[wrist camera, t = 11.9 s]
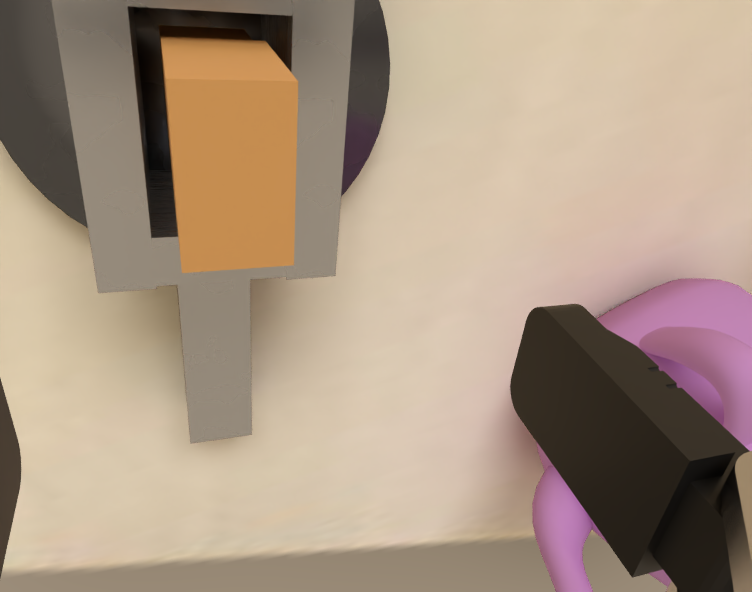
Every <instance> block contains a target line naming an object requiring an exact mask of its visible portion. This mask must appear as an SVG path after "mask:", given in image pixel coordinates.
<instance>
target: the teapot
mask: <svg viewBox="0 0 752 592" xmlns="http://www.w3.org/2000/svg"><path fill="white" fill-rule="evenodd" d="M597 320H598V321H599V322H600V323H601V324H602V325H603V326H604V327H605V328H606V329H607V330H610V331H611V332H613V333H615V334H617V335H618V336H620V337H622V338H624V339H625V340H627V341H629V342H631V343H632V344H634V345H636V346H637V347H639V348H640V349H641V350H642V351H643V352H644V353H645V354H646V355H647V356H648V357H649V358H650V359H651V360H653V361H654V362H655V363H656V364H657V365H658V366H659V370H660V371H664V372H665V373H666V374H668V375H669V376H670V377H671V378H672V379H673V380H674V381H675V382H676V383H677V387H678V388H683V389H684V390H685V391H686V392H687V393H688V394H689V395H690V396H691V397H692V398H693V399H694V400H695V401H697V402H698V403H699V404H700V405H701V406H702V407H703V408H704V409H705V410H706V411H707V412H708V413H709V414H710V415H712V416H713V417H714V418H715V419H716V420H717V421H718V422H719V423H720V424H721V425H722V426H723V427H724V428H726V429H727V430H728V431H729V432H730V433H731V434H732V435H733V436H734V437H735V438H736V439H737V440H738V441H739V442H741V443H742V444H743V445H744V446H745V447H746V448H747V449H748V450H749V451H752V295H751V294H749V293H748V292H746V291H745V290H744V289H742V288H741V287H739V286H738V285H735V284H732V283H729V282H726V281H722V280H715V279H678V280H674V281H670V282H667V283H665V284H662V285H660V286H658V287H655V288H653V289H651V290H649V291H647V292H645V293H643V294H641V295H639V296H637V297H635V298H632V299H631V300H629V301H627V302H625V303H623V304H621V305H619V306H618V307H616V308H614V309H612V310H610V311H609V312H607V313H605V314H604V315H602V316H600V317H599V318H597ZM536 443H537V442H536ZM537 448H538V453H539V456H540V459H541V462H542V464H543V467H544V470H545V472H544V474H543V476H542V477H541V479H540V481H539V483H538V485H537V487H536V491H535V495H534V499H533V527H534V531H535V536H536V540H537V543H538V546H539V549H540V552H541V555H542V557H543V559H544V562H545V564H546V567H547V569H548V572H549V574H550V577H551V580H552V582H553V585H554V587H555V591H556V592H593V590H592V588H591V585H590V583H589V580H588V578H587V575H586V572H585V569H584V564H583V556H582V551H583V546H584V543H585V541H586V539H587V537H588V535H589V533H590V531H591V529H592V530H593V531H594V532H595V533H597V534H598V535H599V536H600V537H601V538H602V539H604V540H605V541H606V539H605V538H604V537H603V535H602V534H601V532H600V531H599V530H598V528H597V527H596V525H595V524H594V522H593V521H592V520H591V518H590V517H589V515H588V514H587V513H586V511H585V510H584V508H583V507H582V505H581V504H580V503H579V501H578V500H577V498H576V497H575V495H574V494H573V493H572V491H571V490H570V488H569V487H568V486H567V484H566V483H565V481H564V480H563V478H562V477H561V476H560V474H559V473H558V471H557V470H556V469H555V467H554V466H553V464H552V463H551V461H550V460H549V459H548V457H547V456H546V454H545V453H544V451H543V450H542V449H541V447H540V446H539V444H538V443H537ZM606 542H607V541H606ZM607 543H608V542H607ZM648 574H650V575H651V576H653V577H654V578H656V579H657V580H659V581H660V582H662V583H663V584H664V585H666V586H667V587H668V585H669V583H670V581H671V579H670V578H669V577H668V575H667V574H666V573H665V571H664V570H659V571H655V572H652V573H648Z"/></svg>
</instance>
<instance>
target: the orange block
mask: <svg viewBox="0 0 752 592" xmlns="http://www.w3.org/2000/svg"><path fill="white" fill-rule="evenodd" d="M159 37H160V48H161V60H162V72H163V83H164V95H165V107H166V118H167V130H168V141H169V150H170V160H171V169H172V179H173V190H174V201H175V211H176V220H177V230H178V240H179V249H180V259H181V269H182V273H191V272H206V271H220V270H234V269H248V268H263V267H277V266H291V265H294V241H295V200H296V158H297V117H298V80H297V79H296V78H295V77H294V75H293V74H292V73H291V72H290V71H289V69H288V68H287V67H286V66H285V64H284V63H283V62H282V61H281V59H280V58H279V57H278V56H277V55H276V53H275V52H274V51H273V50H272V48H271V47H270V46H269V45H268V43H267V42H266V41H262V40H252V39H251V38H250V36H249V35H248V34H247V32H246V31H245V30H244V29H237V28H214V27H191V26H169V25H159Z"/></svg>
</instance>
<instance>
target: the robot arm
mask: <svg viewBox="0 0 752 592" xmlns="http://www.w3.org/2000/svg"><path fill="white" fill-rule="evenodd" d="M510 389H511V398H512V402H513V405H514V408H515V410H516V413H517V414H518V416H519V417H520V419H521V420H522V422H523V423H524V425H525V426H526V427H527V429H528V430H529V432H530V433H531V434H532V436H533V437H534V439H535V440H536V442H537V443H538V444H539V446H540V447H541V449H542V450H543V451H544V453H545V454H546V456H547V457H548V459H549V460H550V461H551V463H552V464H553V466H554V467H555V469H556V470H557V471H558V473H559V474H560V476H561V477H562V478H563V480H564V481H565V483H566V484H567V486H568V487H569V488H570V490H571V491H572V493H573V494H574V495H575V497H576V498H577V500H578V501H579V503H580V504H581V505H582V507H583V508H584V510H585V511H586V513H587V514H588V515H589V517H590V518H591V520H592V521H593V522H594V524H595V525H596V527H597V528H598V530H599V531H600V532H601V534H602V535H603V537H604V538H605V539H606V541H607V542H608V544H609V545H610V546H611V548H612V549H613V551H614V552H615V554H616V555H617V556H618V558H619V559H620V561H621V562H622V564H623V565H624V566H625V568H626V569H627V571H628V572H629V574H630V575H631V576H632V577H636V576H640V575H643V574H647V573H652V572H655V571H659V570H664V571H665V573H666V574H667V575H668V577H669V578H670V579H671V581H670V583H669V585H668V587H667V589H666V592H752V451H749V450H748V449H747V448H746V447H745V446H744V445H743V444H742V443H741V442H739V441H738V440H737V439H736V438H735V437H734V436H733V435H732V434H731V433H730V432H729V431H728V430H727V429H726V428H724V427H723V426H722V425H721V424H720V423H719V422H718V421H717V420H716V419H715V418H714V417H713V416H712V415H710V414H709V413H708V412H707V411H706V410H705V409H704V408H703V407H702V406H701V405H700V404H699V403H698V402H697V401H695V400H694V399H693V398H692V397H691V396H690V395H689V394H688V393H687V392H686V391H685V390H684V389H683V388H678V387H677V383H676V382H675V381H674V380H673V379H672V378H671V377H670V376H669V375H668V374H666V373H665V372H664V371H660V370H659V366H658V365H657V364H656V363H655V362H654V361H653V360H651V359H650V358H649V357H648V356H647V355H646V354H645V353H644V352H643V351H642V350H641V349H640V348H639V347H637V346H636V345H634V344H632V343H631V342H629V341H627V340H625V339H624V338H622V337H620V336H618V335H617V334H615V333H613V332H611V331H610V330H607V329H606V328H605V327H604V326H603V325H602V324H601V323H600V322H599V321H598V320H597V319H596V318H595V317H594V316H592V315H591V314H590V313H589V312H588V311H587V310H586V309H585V308H584V307H583V306H581V305H579V304H568V305H558V306H547V307H537V308H534V309H533V310H532V311H531V312H530V313H529V315H528V317H527V320H526V324H525V328H524V331H523V335H522V339H521V343H520V347H519V350H518V354H517V358H516V362H515V366H514V370H513V373H512V377H511V385H510ZM20 482H21V456H20V448H19V443H18V439H17V436H16V432H15V428H14V425H13V421H12V418H11V414H10V411H9V407H8V404H7V400H6V397H5V393H4V390H3V386H2V382H1V379H0V577H1V572H2V568H3V563H4V559H5V554H6V549H7V545H8V540H9V536H10V531H11V526H12V522H13V517H14V512H15V508H16V503H17V499H18V494H19V489H20Z"/></svg>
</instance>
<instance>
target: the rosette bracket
mask: <svg viewBox="0 0 752 592" xmlns="http://www.w3.org/2000/svg"><path fill="white" fill-rule="evenodd" d="M159 25H169V26H191V27H214V28H237V29H244V30H245V31H246V32H247V34H248V35H249V36H250V38H251V39H252V40H262V41H266V42H267V43H268V45H269V46H270V47H271V48H272V50H273V51H274V52H275V53H276V55H277V56H278V57H279V58H280V59H281V61H282V62H283V63H284V64H285V66H286V67H287V68H288V69H289V71H290V72H291V73H292V74H293V75H294V77H295V78H296V79H297V80H298V117H297V158H296V200H295V241H294V265H291V266H277V267H263V268H248V269H234V270H220V271H206V272H191V273H182V269H181V259H180V249H179V240H178V230H177V220H176V211H175V201H174V190H173V179H172V169H171V160H170V150H169V141H168V130H167V118H166V107H165V95H164V83H163V72H162V60H161V48H160V37H159ZM389 75H390V57H389V45H388V36H387V31H386V26H385V21H384V16H383V11H382V8H381V5H380V2H379V0H0V140H1V141H2V143H3V145H4V146H5V148H6V150H7V151H8V153H9V154H10V156H11V158H12V159H13V161H14V162H15V163H16V164H17V166H18V167H19V168H20V169H21V171H22V172H23V173H24V174H25V176H26V177H27V178H28V179H29V181H30V182H31V183H32V184H33V185H34V186H35V187H36V188H37V189H38V190H39V191H40V192H41V193H42V194H43V195H44V196H45V197H46V198H47V199H48V200H49V201H51V202H52V203H53V204H54V205H56V206H57V207H58V208H60V209H61V210H62V211H63V212H65V213H66V214H67V215H69V216H70V217H71V218H73V219H74V220H76V221H78V222H79V223H81V224H82V225H84V226H86V227H87V228H88V231H89V238H90V244H91V250H92V256H93V263H94V269H95V275H96V281H97V288H98V293H107V292H120V291H134V290H148V289H157V288H156V286H168V285H177V287H178V299H179V311H180V323H181V336H182V348H183V360H184V372H185V384H186V396H187V408H188V420H189V431H190V442H191V443H198V442H205V441H212V440H219V439H226V438H232V437H239V436H246V435H252V402H251V317H250V280H252V279H266V278H280V277H286V279H300V278H314V277H327V276H335V275H336V260H337V246H338V232H339V218H340V203H341V196H342V195H343V194H344V193H345V192H346V191H347V189H348V188H349V187H350V185H351V184H352V182H353V181H354V180H355V178H356V177H357V176H358V174H359V173H360V171H361V169H362V168H363V166H364V164H365V162H366V161H367V159H368V157H369V155H370V153H371V151H372V148H373V146H374V144H375V141H376V139H377V137H378V134H379V131H380V127H381V124H382V121H383V117H384V114H385V109H386V103H387V97H388V91H389Z"/></svg>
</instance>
